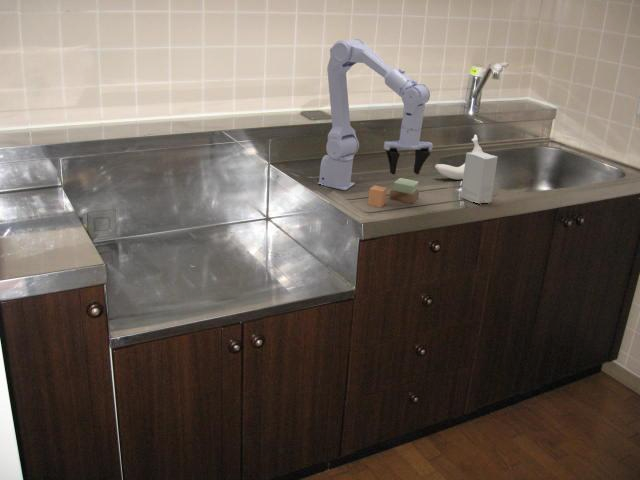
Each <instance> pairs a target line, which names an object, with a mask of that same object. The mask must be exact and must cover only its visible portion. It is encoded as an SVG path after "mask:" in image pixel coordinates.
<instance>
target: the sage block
mask: <svg viewBox="0 0 640 480" xmlns="http://www.w3.org/2000/svg"><path fill="white" fill-rule="evenodd" d="M419 182H420V181H417V180H412V179H408V178H403V177H399V178H398V179H396V180H395V181H394V182H393V188H392V189H393V191H398V192H402V193H407V194H411V195H412V194H413V193H414V192H415V191H416V190H418V189H419V185H420V184H419Z"/></svg>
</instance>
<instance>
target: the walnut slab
mask: <svg viewBox="0 0 640 480" xmlns="http://www.w3.org/2000/svg"><path fill="white" fill-rule="evenodd" d="M389 193H390V194H389V198H388V199H389V200H393V201H396V202H397V201H398V202H402V203H406V204H411V205H412V204H413V203H414V202H415V201H416V200H418V198H419V195H420V188H418V190H416V191H415V192H414V193H413V194H412V195H411V194H407V193H402V192H398V191H393V188H392V189H391V190H390V191H389Z"/></svg>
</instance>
